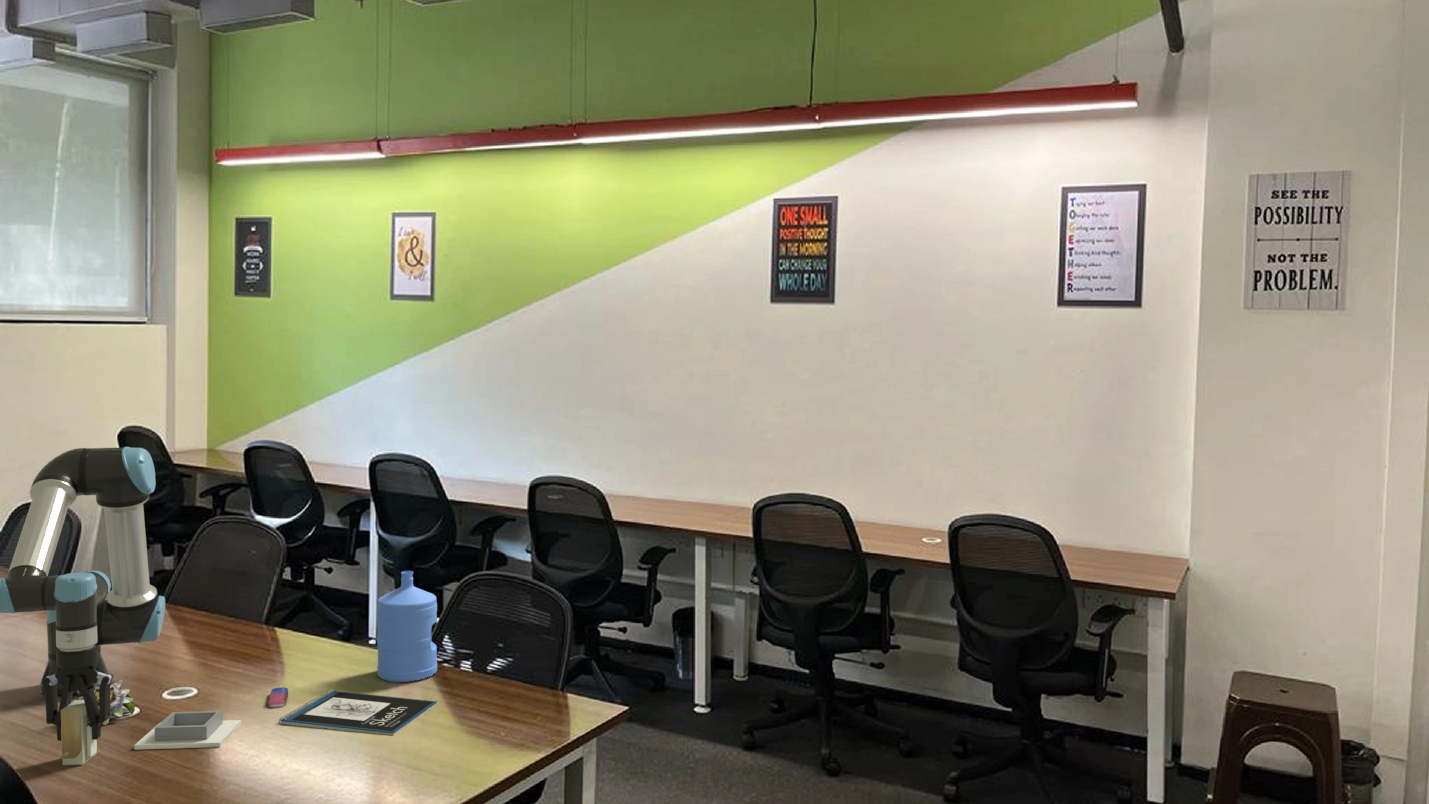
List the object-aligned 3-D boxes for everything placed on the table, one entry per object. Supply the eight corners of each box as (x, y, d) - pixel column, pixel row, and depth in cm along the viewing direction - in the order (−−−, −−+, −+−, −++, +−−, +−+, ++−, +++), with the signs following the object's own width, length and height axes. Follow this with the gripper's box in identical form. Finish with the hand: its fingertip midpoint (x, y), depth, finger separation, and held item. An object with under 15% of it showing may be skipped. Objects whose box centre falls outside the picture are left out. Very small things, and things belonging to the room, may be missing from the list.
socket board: (134, 749, 230) (133, 731, 230) (160, 726, 244) (160, 709, 244) (220, 747, 232) (219, 729, 232) (241, 724, 246) (241, 707, 246)
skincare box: (76, 754, 227) (75, 699, 226) (97, 754, 227) (96, 698, 227) (60, 766, 220) (59, 709, 220) (82, 765, 221) (81, 709, 220)
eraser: (285, 708, 257) (285, 701, 257) (267, 710, 256) (267, 703, 256) (289, 693, 268) (288, 686, 268) (271, 694, 267) (271, 687, 267)
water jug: (401, 687, 273) (400, 581, 272) (365, 675, 283) (364, 572, 281) (449, 672, 286) (449, 571, 284) (413, 661, 295) (413, 563, 294)
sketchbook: (393, 738, 240) (393, 729, 240) (276, 726, 246) (276, 718, 246) (437, 706, 261) (437, 697, 261) (328, 696, 267) (328, 688, 267)
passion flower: (105, 747, 245) (74, 715, 238) (90, 726, 252) (59, 695, 245) (149, 712, 251) (120, 680, 244) (133, 693, 258) (104, 662, 251)
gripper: (23, 652, 218) (26, 762, 219) (112, 651, 220) (114, 759, 221) (42, 642, 225) (45, 748, 227) (128, 640, 227) (130, 746, 229)
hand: (79, 754), depth 224 cm, fingers closed on skincare box, 4 cm apart
